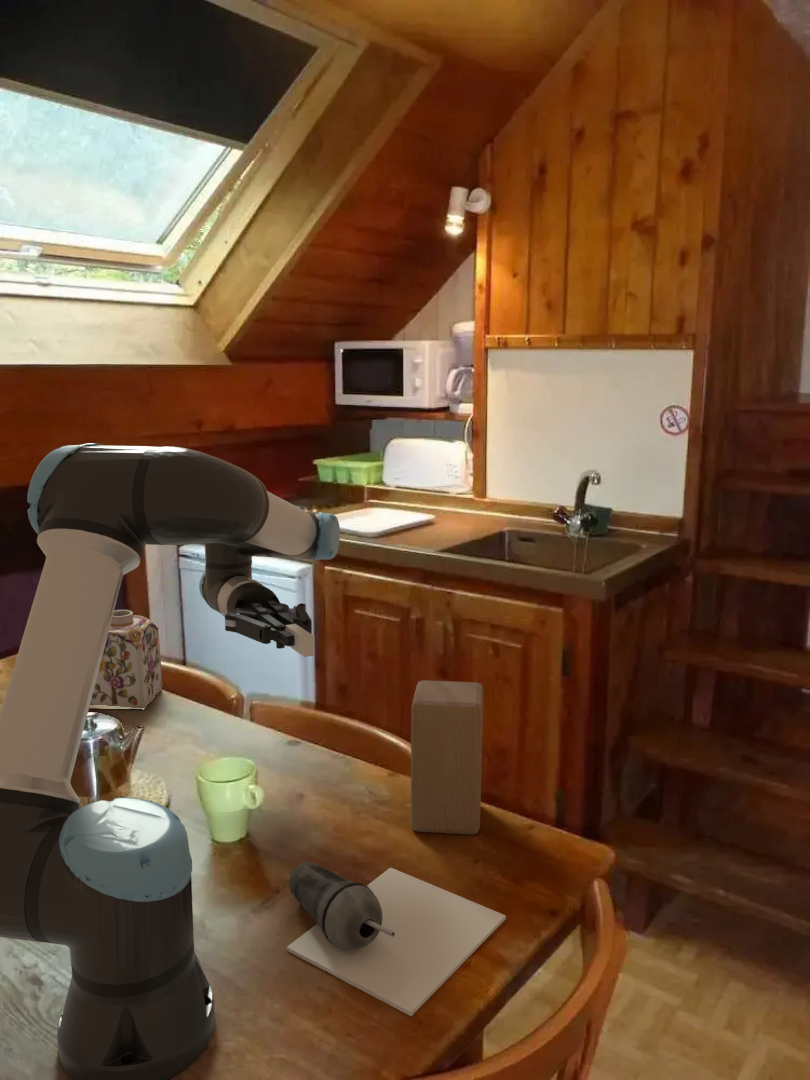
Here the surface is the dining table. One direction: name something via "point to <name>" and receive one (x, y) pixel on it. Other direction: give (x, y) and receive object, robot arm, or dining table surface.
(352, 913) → the tumbler with straw
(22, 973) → the dining table surface
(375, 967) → the mat
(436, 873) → the dining table surface
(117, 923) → the robot arm
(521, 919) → the dining table surface
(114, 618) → the decorative jar
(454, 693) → the block
